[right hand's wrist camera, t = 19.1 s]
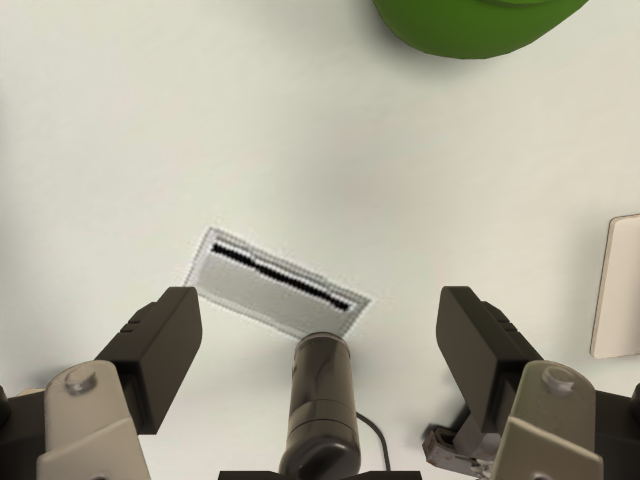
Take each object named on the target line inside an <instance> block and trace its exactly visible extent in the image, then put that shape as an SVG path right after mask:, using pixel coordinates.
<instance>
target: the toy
mask: <svg viewBox="0 0 640 480" xmlns="http://www.w3.org/2000/svg"><path fill="white" fill-rule="evenodd" d="M500 442H501V437H500V435H499V433H481V432H480V430H479V427H478V425H477V423H476V421H475V419H474V417H473V415H472V413H471V414H470V415H469V417H468V418H467V420H466V421H465V423H464V424H463V426H462V427H461V429H460V430H459V432H454V431H451V430H447V429H443V428H437V430H436V431H435V433H434V432H433V430H431V431H430V433H429V435H428V436H427V438H426V439H425V441H424V442H423V444H422V446H423V450H424V453H425V456H426V459H427V460H426V462H428V463H430V464H432V465H433V466H435V467H438V468H442V469H446V470H450V471H454V472H457V473H461V474H465V475H469V476H473V477H477V478H479V479H476V480H489V478H490V474H491V471H492V468H493V465H494V461H495V458H496V455H497V452H498V448H499V445H500Z"/></svg>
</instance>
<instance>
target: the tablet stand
mask: <svg viewBox="0 0 640 480" xmlns="http://www.w3.org/2000/svg"><path fill="white" fill-rule="evenodd" d="M590 354H591V355H592V356H593V357H594V358H596V359H600V358H608V357H617V356H625V355H634V354H640V215H633V216H625V217H618V218H615V219H613V220H612V221H611V223H610V229H609V236H608V242H607V248H606V255H605V261H604V268H603V274H602V280H601V287H600V293H599V299H598V306H597V312H596V319H595V325H594V331H593V338H592V344H591V351H590Z"/></svg>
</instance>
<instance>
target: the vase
mask: <svg viewBox="0 0 640 480" xmlns="http://www.w3.org/2000/svg"><path fill="white" fill-rule="evenodd" d="M587 1H588V0H373V2H374V4H375V6H376V8H377V10H378V11H379V13H380V15H381V17H382V19H383V21H384V22H385V23H386V24H387V25H388V27H389V28H390V29H391V30H392V31H393V33H394V34H395V35H396V36H398V37H399V38H400V39H401V40H403V41H404V42H405V43H407V44H408V45H409V46H411V47H413V48H415V49H418V50H420V51H422V52H424V53H427V54H432V55H437V56H442V57H449V58H457V59H487V58H491V57H495V56H500V55H504V54H508V53H511V52H513V51H515V50H517V49H519V48H522V47H524V46H526V45H528V44H531V43H532V42H534V41H535V40H537V39H538V38H540V37H541V36H543V35H544V34H545V33H547V32H548V31H550V30H551V29H553V28H554V27H555V26H557V25H558V24H560V23H561V22H562V21H564V20H565V19H566V18H568V17H569V16H570V15H572V14H573V13H574V12H576V11H577V10H578V9H580V8H581V7H582V6H583V5H584V4H585V3H586V2H587Z"/></svg>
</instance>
